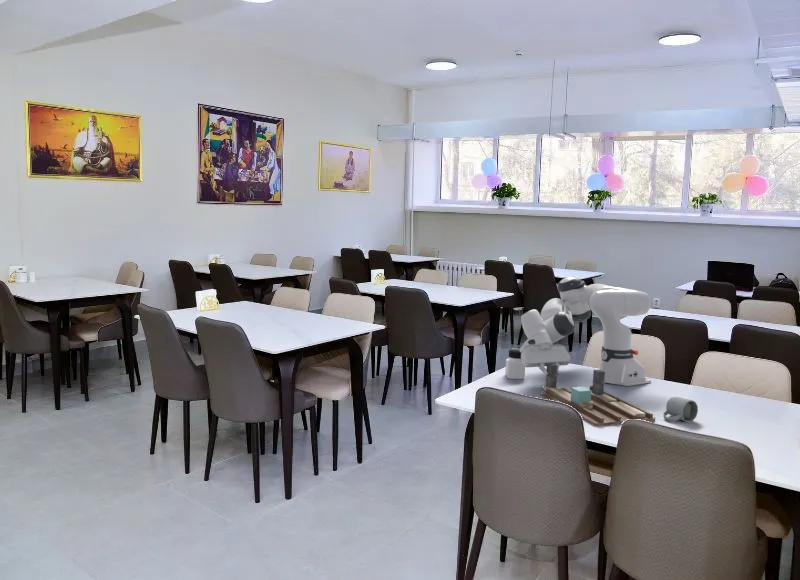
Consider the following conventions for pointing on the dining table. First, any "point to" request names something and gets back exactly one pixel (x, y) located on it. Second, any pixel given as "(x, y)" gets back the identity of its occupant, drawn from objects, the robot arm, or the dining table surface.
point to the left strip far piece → (629, 409)
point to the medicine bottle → (515, 365)
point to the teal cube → (580, 394)
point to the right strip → (551, 385)
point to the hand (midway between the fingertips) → (552, 374)
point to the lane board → (600, 409)
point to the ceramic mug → (681, 409)
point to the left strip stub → (600, 386)
